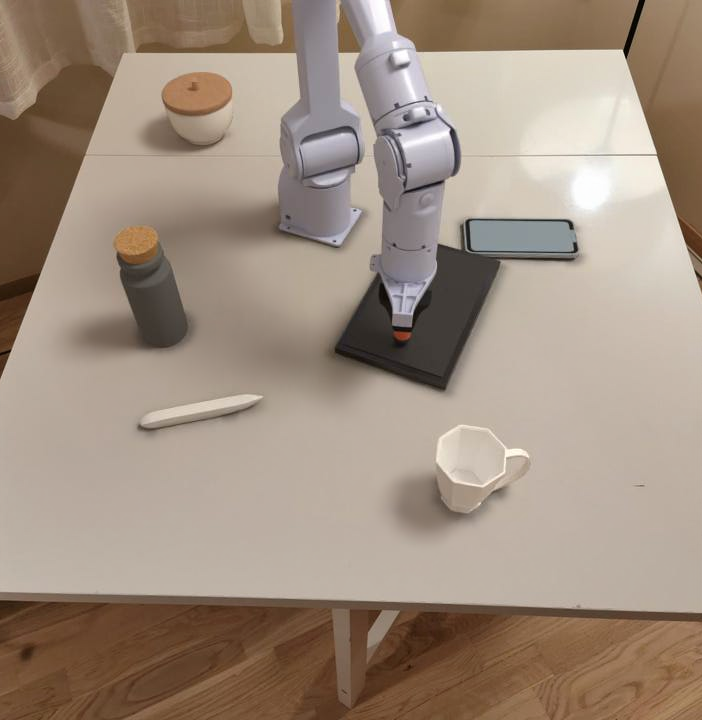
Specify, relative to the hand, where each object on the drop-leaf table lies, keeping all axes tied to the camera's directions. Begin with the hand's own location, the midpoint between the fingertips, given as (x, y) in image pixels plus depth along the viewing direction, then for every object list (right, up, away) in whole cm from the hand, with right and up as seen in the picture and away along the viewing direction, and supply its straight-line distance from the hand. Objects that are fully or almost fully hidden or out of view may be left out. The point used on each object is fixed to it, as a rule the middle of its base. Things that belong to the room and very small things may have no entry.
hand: (403, 321), depth 81 cm
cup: (+7, -18, -8) cm, 21 cm away
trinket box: (-29, +32, +32) cm, 54 cm away
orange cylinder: (0, -2, +2) cm, 3 cm away
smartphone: (+17, +12, +15) cm, 26 cm away
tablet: (+3, +2, +8) cm, 9 cm away
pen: (-23, -11, -1) cm, 25 cm away
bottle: (-29, -1, +7) cm, 30 cm away
